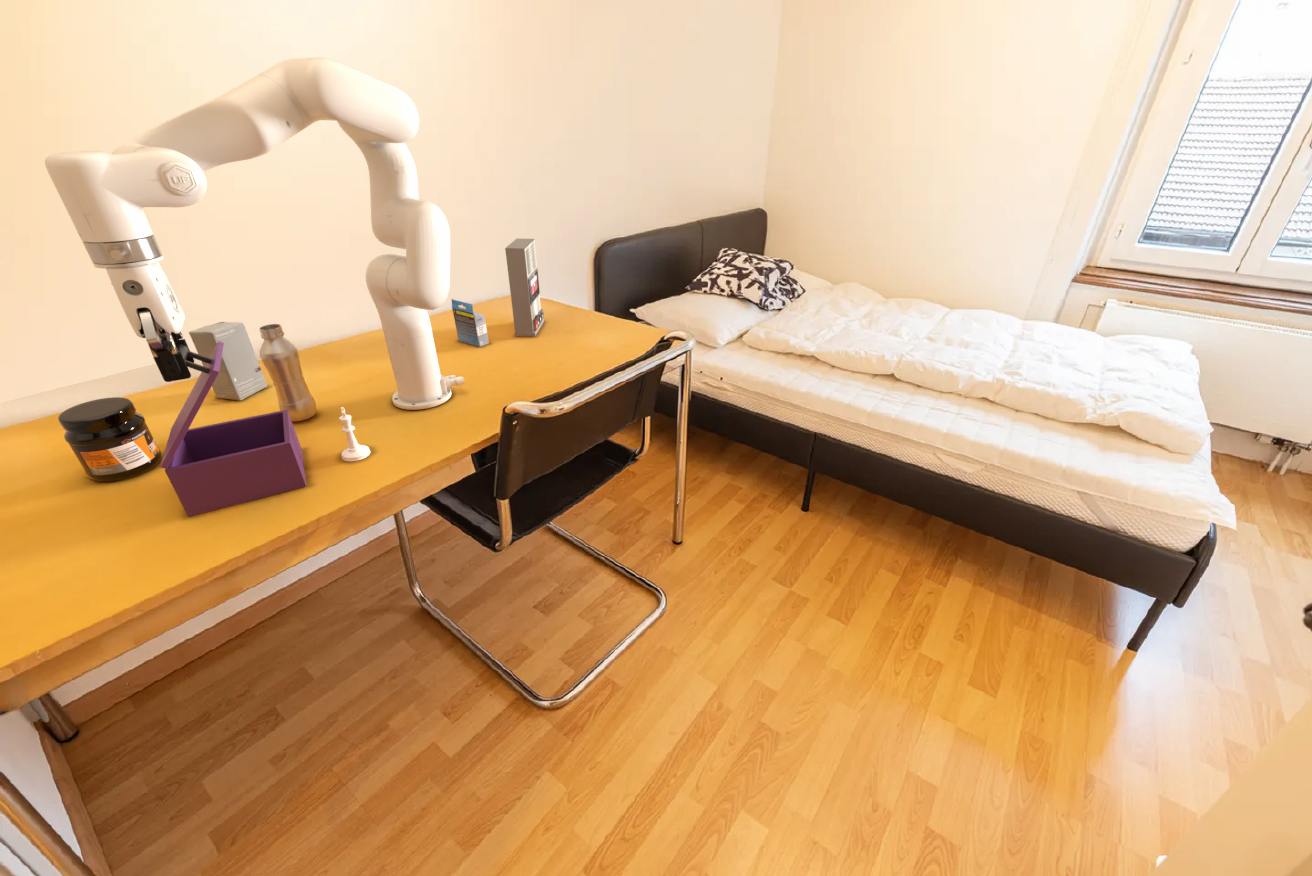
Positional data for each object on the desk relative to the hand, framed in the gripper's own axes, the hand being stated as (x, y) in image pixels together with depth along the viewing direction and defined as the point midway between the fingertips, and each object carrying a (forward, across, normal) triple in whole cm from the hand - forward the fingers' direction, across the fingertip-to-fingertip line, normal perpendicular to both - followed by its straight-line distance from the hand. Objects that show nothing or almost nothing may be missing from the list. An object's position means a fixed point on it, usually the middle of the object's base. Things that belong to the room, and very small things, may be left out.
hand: (180, 371), depth 86 cm
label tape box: (+22, +49, -56) cm, 77 cm away
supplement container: (+22, +16, +16) cm, 31 cm away
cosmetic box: (+22, +43, -1) cm, 48 cm away
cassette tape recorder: (+22, +52, -74) cm, 93 cm away
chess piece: (+22, 0, -20) cm, 29 cm away
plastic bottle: (+22, +22, -12) cm, 33 cm away
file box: (+21, 0, -3) cm, 22 cm away
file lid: (+6, 0, 0) cm, 6 cm away
